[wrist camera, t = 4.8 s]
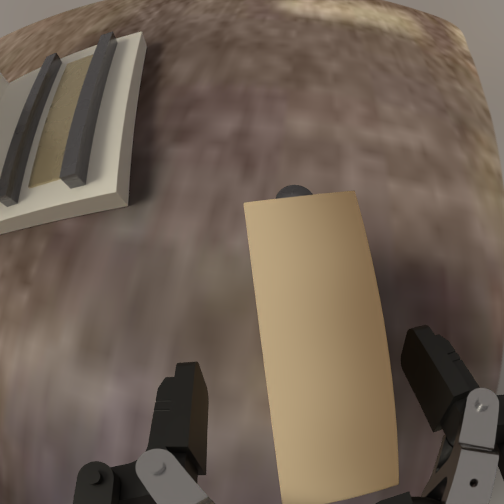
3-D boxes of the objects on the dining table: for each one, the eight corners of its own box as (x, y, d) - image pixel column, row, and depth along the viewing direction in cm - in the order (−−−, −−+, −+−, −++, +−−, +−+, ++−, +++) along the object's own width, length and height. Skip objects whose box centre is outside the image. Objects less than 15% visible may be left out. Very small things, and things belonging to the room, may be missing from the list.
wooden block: (273, 426, 15) (283, 510, 6) (253, 268, 18) (240, 173, 9) (328, 417, 15) (398, 484, 6) (305, 261, 18) (346, 162, 9)
